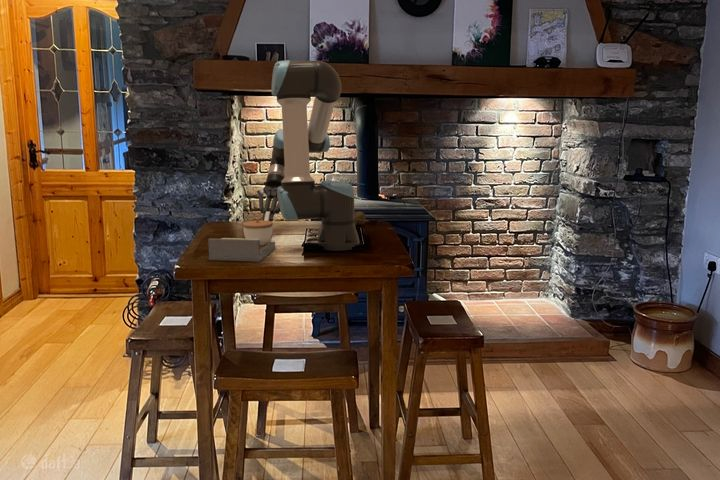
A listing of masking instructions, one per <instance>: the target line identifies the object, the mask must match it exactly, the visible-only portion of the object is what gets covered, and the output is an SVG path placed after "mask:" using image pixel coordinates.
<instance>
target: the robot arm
mask: <svg viewBox="0 0 720 480" xmlns="http://www.w3.org/2000/svg"><path fill="white" fill-rule="evenodd" d="M271 76H272V77H271V78H272V79H271V95H272V96H273V97H276V103H278V104H279V105H280V106H281V121H282V123H281V124H282V128H281V129H280V128H279V130H277V131H276V132H275V134H274V137H273V141H272V142H273V143H272V150H271V151H272V152H271V159H270V162H269V163H270V164H269V167H268V171H267V175H266V176H267V177H266V181H265V185H264V187H263V189H261V190H260V189H257V191H256V193H257V196H258V207H259V211H260V214H261V215H262V217H261V218H262V219H261V220H266V221H271V222H273V221H274V216H275V215H279V214H281V216H282V218H283V219H284V220H286V221H298V220H299V221H301V220H303V221H304V220H317V219H318V220H319V219H321V226H320V230H319V233H318V236H317V240H316V243H317V242H318V243H319V244H321V245H322V246H323V247H324V248H325V249H324V251H330V252H331V251H336V252H337V251H338V252H340V251H341V252H342V251H351V250H353V249H352V247H354V246H355V245H357V244H359V243H360V238H359V234H358V231H357V229H356V227H355V225H354V213H355V188H354V186H353V185H352V184H351V183H348V182H343V181H336V180H321V181H320V185H319V184H318V185H317V184H316V180H315V178H313V177H312V176H311V166H310V154H315V153H316V154H321V153H327V152H329V150H330V146H331V142H330V141H331V140H330V139H331V138H330V135H329V134H328V131H329V127H330V122H331V120H332V115H333V112H334V107H335V104H336V102H338V100H339V99H340V97H341V93H342V82H341V79H340V76H339V74H338V72H337V71H336V69H334V68H333V66H331V65H330V64H329V63H328V62H325V61H322V60H301V59H300V60H299V59H293V60H292V59H291V60H290V59H288V60H287V59H286V60H278V61H276V62H275V64H274V66H273V70H272V75H271ZM312 96H314V98H313V99H314V100H313V105H312V108H311V113H310V118H309V122H308V107H307V106H308V104H310V102H311V100H312V99H311V97H312ZM264 195H265V196H266V199H265V202H264Z"/></svg>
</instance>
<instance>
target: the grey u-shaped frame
mask: <svg viewBox="0 0 720 480" xmlns="http://www.w3.org/2000/svg"><path fill="white" fill-rule="evenodd" d="M207 241H208V256H209V258H208V259H209V261H220V262H221V261H223V262H224V261H226V262H227V261H228V262H255V263H259V262H260V261H262V260H263V259H264V258H267V256H268V255H269V254H271V252H273V251H274V250H276V242H275V241H270V242H269V243H267V244H265V245H264V247H262V248H261V245H260V240H249V239H246V238H241V239H221V238H212V237H210V238H208V239H207Z"/></svg>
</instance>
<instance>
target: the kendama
mask: <svg viewBox="0 0 720 480" xmlns="http://www.w3.org/2000/svg"><path fill="white" fill-rule="evenodd" d="M366 222H367V223H368V222H370V221H369V220H368V219H367V217H366V214H365V213H364V212H363V211H354V225H355V228H356V227H357V226H363V225H364V224H365V223H366Z"/></svg>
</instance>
